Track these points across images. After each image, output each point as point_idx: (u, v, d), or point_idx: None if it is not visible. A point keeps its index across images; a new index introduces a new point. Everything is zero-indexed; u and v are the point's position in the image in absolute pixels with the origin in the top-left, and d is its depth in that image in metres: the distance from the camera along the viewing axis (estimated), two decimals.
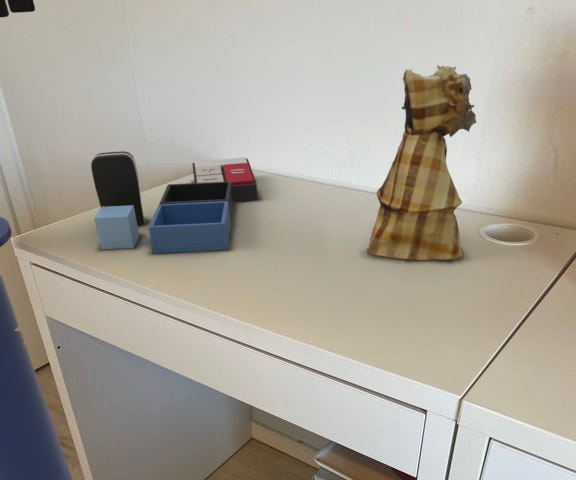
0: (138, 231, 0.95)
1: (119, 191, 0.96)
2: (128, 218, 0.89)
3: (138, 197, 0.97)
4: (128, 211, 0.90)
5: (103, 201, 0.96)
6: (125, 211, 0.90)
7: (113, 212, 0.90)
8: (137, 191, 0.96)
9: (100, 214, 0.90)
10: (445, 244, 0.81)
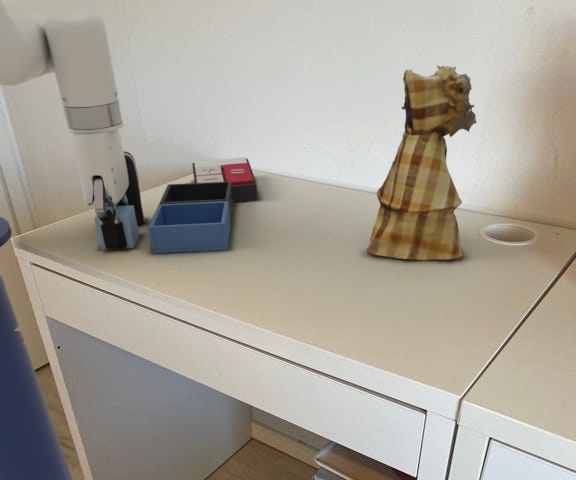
0: (138, 231, 0.95)
1: None
2: (128, 218, 0.89)
3: (138, 197, 0.97)
4: (128, 211, 0.90)
5: None
6: (125, 211, 0.90)
7: None
8: (137, 191, 0.96)
9: None
10: (445, 244, 0.81)
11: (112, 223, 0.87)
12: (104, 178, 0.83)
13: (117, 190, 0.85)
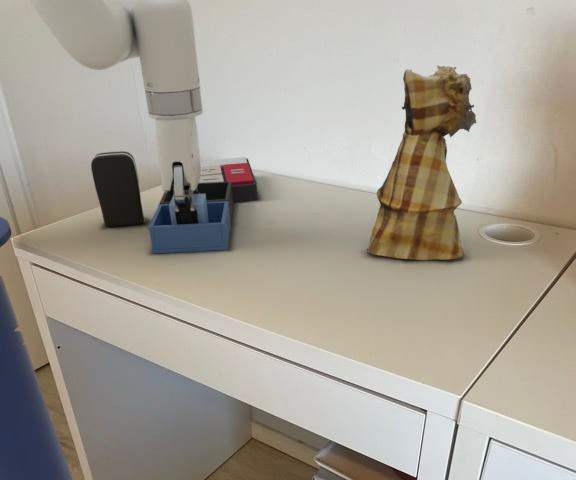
0: (208, 220, 0.94)
1: (119, 191, 0.96)
2: (203, 206, 0.88)
3: (138, 197, 0.97)
4: (202, 199, 0.90)
5: (103, 201, 0.96)
6: (198, 199, 0.89)
7: None
8: (137, 191, 0.96)
9: None
10: (445, 244, 0.81)
11: (188, 211, 0.87)
12: (184, 165, 0.82)
13: (195, 177, 0.84)
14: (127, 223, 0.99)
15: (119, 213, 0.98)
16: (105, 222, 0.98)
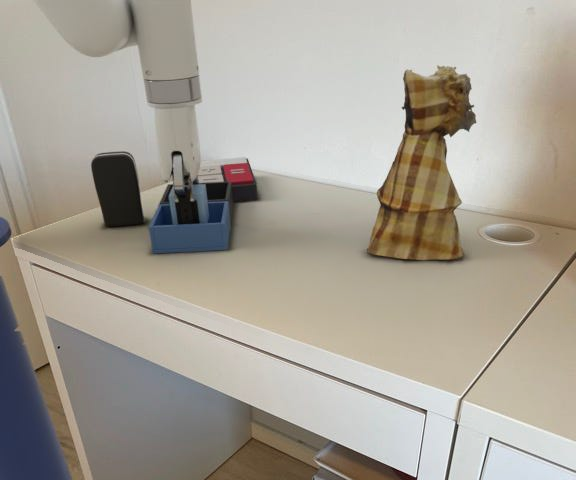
0: (208, 211, 0.93)
1: (119, 191, 0.96)
2: (203, 196, 0.88)
3: (138, 197, 0.97)
4: (202, 189, 0.89)
5: (103, 201, 0.96)
6: (198, 190, 0.89)
7: None
8: (137, 191, 0.96)
9: None
10: (445, 244, 0.81)
11: (188, 201, 0.86)
12: (184, 154, 0.81)
13: (195, 167, 0.84)
14: (127, 223, 0.99)
15: (119, 213, 0.98)
16: (105, 222, 0.98)
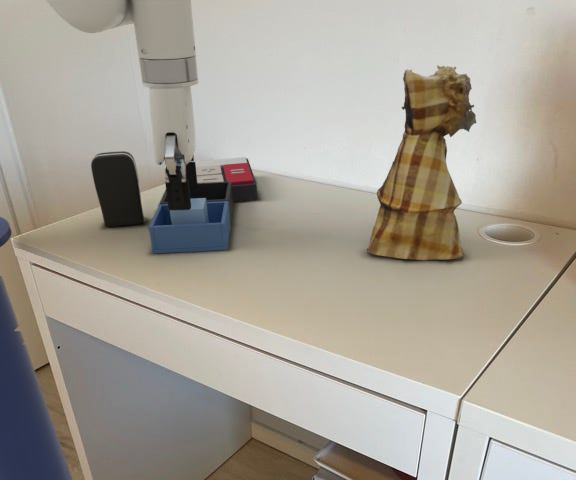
0: None
1: (119, 191, 0.96)
2: (203, 210, 0.89)
3: (138, 197, 0.97)
4: (202, 203, 0.90)
5: (103, 201, 0.96)
6: (199, 204, 0.90)
7: None
8: (137, 191, 0.96)
9: None
10: (445, 244, 0.81)
11: (179, 181, 0.82)
12: (178, 136, 0.80)
13: (189, 149, 0.82)
14: (127, 223, 0.99)
15: (119, 213, 0.98)
16: (105, 222, 0.98)
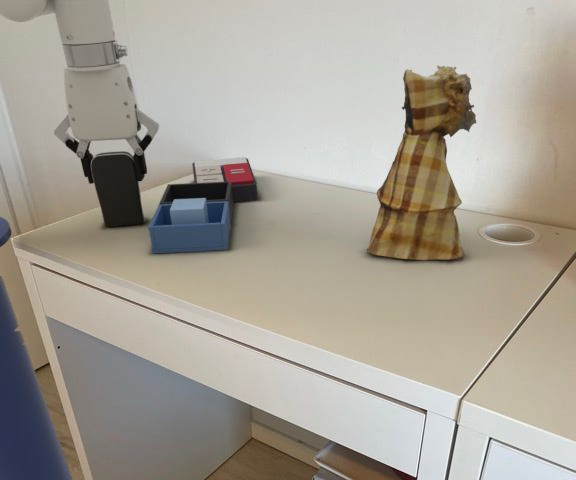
0: None
1: (119, 191, 0.96)
2: (203, 210, 0.89)
3: (138, 197, 0.97)
4: (202, 203, 0.90)
5: (103, 201, 0.96)
6: (199, 204, 0.90)
7: (188, 204, 0.90)
8: (137, 191, 0.96)
9: (175, 207, 0.89)
10: (445, 244, 0.81)
11: None
12: None
13: (78, 128, 0.90)
14: (127, 223, 0.99)
15: (119, 213, 0.98)
16: (105, 222, 0.98)
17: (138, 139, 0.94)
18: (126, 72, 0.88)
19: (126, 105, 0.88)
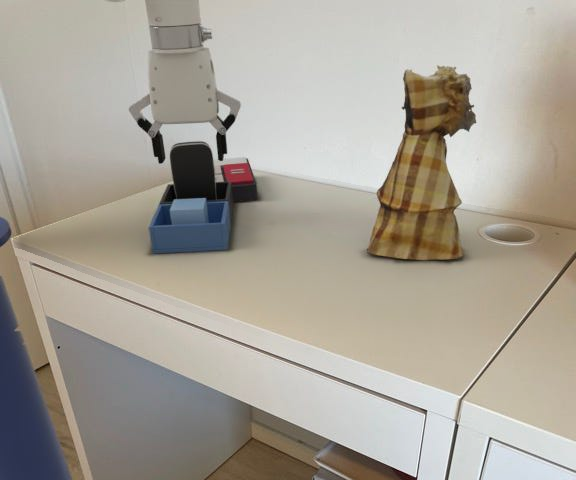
0: None
1: (196, 180, 0.97)
2: (203, 210, 0.89)
3: (214, 187, 0.98)
4: (202, 203, 0.90)
5: (179, 190, 0.97)
6: (199, 204, 0.90)
7: (188, 204, 0.90)
8: (213, 181, 0.97)
9: (175, 207, 0.89)
10: (445, 244, 0.81)
11: None
12: (149, 95, 0.90)
13: (159, 111, 0.90)
14: None
15: None
16: None
17: (219, 119, 0.94)
18: (209, 55, 0.88)
19: (208, 88, 0.89)
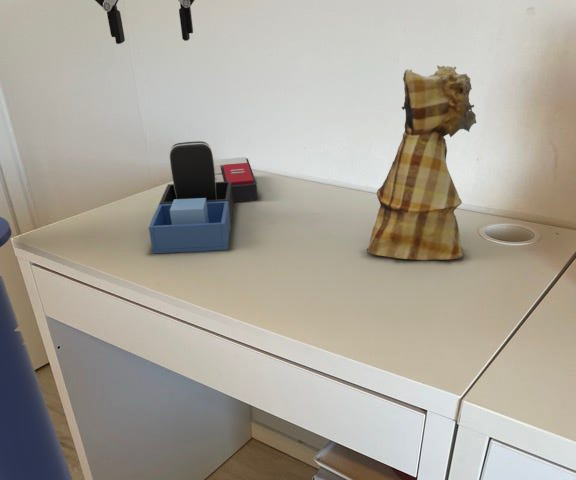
0: None
1: (196, 180, 0.97)
2: (203, 210, 0.89)
3: (214, 187, 0.98)
4: (202, 203, 0.90)
5: (179, 190, 0.97)
6: (199, 204, 0.90)
7: (188, 204, 0.90)
8: (213, 181, 0.97)
9: (175, 207, 0.89)
10: (445, 244, 0.81)
11: None
12: None
13: None
14: None
15: None
16: None
17: None
18: None
19: None
